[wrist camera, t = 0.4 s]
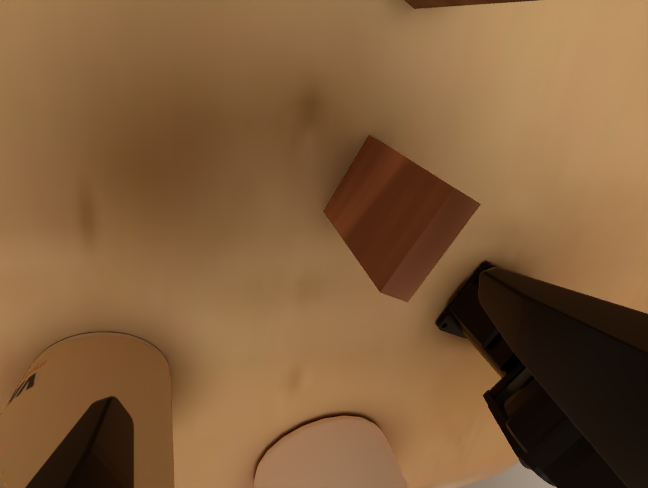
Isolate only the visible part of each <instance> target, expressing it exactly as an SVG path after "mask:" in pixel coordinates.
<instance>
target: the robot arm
mask: <svg viewBox="0 0 648 488" xmlns="http://www.w3.org/2000/svg"><path fill="white" fill-rule="evenodd" d="M436 325H437V327H438V328H439V329H440V330H442V331H445V332H448V333H451V334H454V335H457V336H460V337H463V338H467V339H468V340H469V341H470V342H471V343H472V344H473V346H474V347H475V348H476V349H477V350H478V351H479V352H480V354H481V355H482V356H483V357H484V358H485V359H486V360H487V362H488V363H489V364H490V365H491V366H492V367H493V368H494V370H495V371H496V372H497V373H498V374H499V375H500V376H501V378H502V379H501V380H500V381H499V382H498V383H497V384H496V385H495V386H494V387H493V388H492V389H491V390H487V391H486V392H485V393H484V394H483V397H484V399H485V400H486V402H487V404H488V407H489V409H490V411H491V413H492V414H493V416H494V418H495V420H496V421H497V423H498V425H499V426H500V428H501V430H502V432H503V433H504V435H505V437H506V439H507V440H508V442H509V444H510V445H511V447H512V449H513V451H514V452H515V454H516V455H517V457H518V458H519V461H520V462H521V464H522V465H523V466H524V467H525V468H527V469H531V470H533V471H534V472H535V473H536V474H537V475H538V476H539V477H540V478H542V479H543V480H544V481H546V482H547V483H549V484H551V485H552V486H556V487H557V488H648V314H647V313H643V312H640V311H637V310H634V309H630V308H627V307H624V306H621V305H618V304H614V303H611V302H608V301H605V300H601V299H598V298H595V297H592V296H589V295H585V294H582V293H579V292H576V291H573V290H569V289H566V288H563V287H560V286H556V285H553V284H550V283H547V282H544V281H540V280H537V279H534V278H531V277H527V276H524V275H521V274H518V273H515V272H511V271H508V270H505V269H503V268H501V267H499V266H497V265H495V264H493V263H491V262H485V263H483V264H482V265H481V266H480V268H479V269H478V270H477V272H476V273H475V274H474V275H473V277H472V278H471V279H470V280H469V282H468V283H467V284H466V285H465V287H464V288H463V289H462V291H461V292H460V293H459V294H458V296H457V297H456V298H455V299H454V301H453V302H452V303H451V304H450V306H449V307H448V308H447V309H446V311H445V312H444V313H443V315H442V316H441V317H440V318H439V320H438V321H437V323H436ZM25 488H134V423H133V419H132V417H131V415H130V414H129V413H128V411H127V410H126V409H125V407H124V406H123V405H122V403H121V402H120V401H119V400H118V398H117V397H115V396H109V397H106V398H103V399H100V400H97V401H95V402H93V403H92V404H91V405H90V406H89V408H88V409H87V410H86V411H85V413H84V414H83V415H82V417H81V418H80V419H79V420H78V422H77V423H76V424H75V425H74V427H73V428H72V429H71V430H70V432H69V433H68V434H67V435H66V437H65V438H64V439H63V440H62V442H61V443H60V444H59V445H58V447H57V448H56V449H55V450H54V452H53V453H52V454H51V455H50V457H49V458H48V459H47V461H46V462H45V463H44V464H43V466H42V467H41V468H40V469H39V471H38V472H37V473H36V474H35V476H34V477H33V478H32V479H31V481H30V482H29V483H28V484H27V486H26V487H25Z"/></svg>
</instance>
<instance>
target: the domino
mask: <svg viewBox="0 0 648 488" xmlns="http://www.w3.org/2000/svg"><path fill="white" fill-rule="evenodd" d="M479 206H480V204H479V203H478V202H476V201H475V200H473V199H471V198H470V197H468V196H467V195H465V194H463V193H462V192H460V191H459V190H457V189H455V188H454V187H452V186H451V185H449V184H447V183H446V182H444V181H443V180H441V179H440V178H438V177H436V176H435V175H433V174H432V173H430V172H428V171H427V170H425V169H424V168H422V167H420V166H419V165H417V164H416V163H414V162H412V161H411V160H409V159H408V158H406V157H404V156H403V155H401V154H400V153H398V152H396V151H395V150H393V149H392V148H390V147H388V146H387V145H385V144H384V143H382V142H380V141H379V140H377V139H375V138H374V137H372V136H371V135H369V136H368V138H367V140H366V141H365V143H364V145H363V146H362V148H361V150H360V151H359V153H358V155H357V156H356V158H355V160H354V161H353V163H352V165H351V166H350V168H349V170H348V171H347V173H346V175H345V176H344V178H343V180H342V182H341V183H340V185H339V187H338V188H337V190H336V192H335V193H334V195H333V197H332V198H331V200H330V202H329V203H328V205H327V207H326V208H325V210H324V213H325V214H326V216H327V217H328V219H329V220H330V221H331V223H332V224H333V226H334V227H335V229H336V230H337V231H338V233H339V234H340V236H341V237H342V239H343V240H344V241H345V243H346V244H347V246H348V247H349V249H350V250H351V251H352V253H353V254H354V256H355V257H356V259H357V260H358V261H359V263H360V264H361V266H362V267H363V269H364V270H365V271H366V273H367V274H368V276H369V277H370V279H371V280H372V281H373V283H374V284H375V286H376V287H377V289H378V290H379V291H380V293H383V294H386V295H389V296H392V297H394V298H397V299H400V300H403V301H406V302H408V301H409V300H410V299H411V297H412V296H413V295H414V293H415V292H416V291H417V289H418V288H419V287H420V285H421V284H422V282H423V281H424V280H425V278H426V277H427V276H428V274H429V273H430V272H431V270H432V269H433V268H434V266H435V265H436V264H437V262H438V261H439V260H440V258H441V257H442V256H443V254H444V253H445V252H446V250H447V249H448V248H449V246H450V245H451V243H452V242H453V241H454V239H455V238H456V237H457V235H458V234H459V233H460V231H461V230H462V229H463V227H464V226H465V225H466V223H467V222H468V221H469V219H470V218H471V217H472V215H473V214H474V213H475V211H476V210H477V209H478V207H479Z"/></svg>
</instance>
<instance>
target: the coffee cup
mask: <svg viewBox="0 0 648 488" xmlns="http://www.w3.org/2000/svg"><path fill="white" fill-rule="evenodd" d="M109 396H115V397H117V398H118V400H119V401H120V402H121V403H122V405H123V406H124V407H125V409H126V410H127V411H128V413H129V414H130V415H131V417H132V419H133V423H134V488H174V458H173V428H172V399H171V379H170V370H169V366H168V363H167V361H166V359H165V357H164V356H163V354H162V353H161V352H160V351H159V350H158V349H157V348H156V347H154V346H153V345H152V344H150V343H148V342H146V341H144V340H142V339H140V338H137V337H134V336H131V335H127V334H121V333H113V332H93V333H87V334H80V335H76V336H73V337H69V338H67V339H64V340H62V341H59V342H57V343H56V344H54V345H52V346H50V347H49V348H47V349H46V350H45V351H44V352H43V353H41V354H40V355H39V356H38V357H37V358H36V359H35V361H34V362H33V363H32V365H31V366H30V368H29V370H28V371H27V373H26V374H25V376H24V377H23V379H22V380H21V382H20V384H19V385H18V387H17V389H16V391H15V392H14V394H13V396H12V397H11V399H10V401H9V402H8V404H7V406H6V408H5V409H4V411H3V413H2V414H1V416H0V488H25V487H26V486H27V484H28V483H29V482H30V481H31V479H32V478H33V477H34V476H35V474H36V473H37V472H38V471H39V469H40V468H41V467H42V466H43V464H44V463H45V462H46V461H47V459H48V458H49V457H50V455H51V454H52V453H53V452H54V450H55V449H56V448H57V447H58V445H59V444H60V443H61V442H62V440H63V439H64V438H65V437H66V435H67V434H68V433H69V432H70V430H71V429H72V428H73V427H74V425H75V424H76V423H77V422H78V420H79V419H80V418H81V417H82V415H83V414H84V413H85V411H86V410H87V409H88V408H89V406H90V405H91V404H92V403H93V402H95V401H97V400H100V399H103V398H106V397H109Z"/></svg>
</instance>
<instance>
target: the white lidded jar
mask: <svg viewBox="0 0 648 488" xmlns="http://www.w3.org/2000/svg"><path fill="white" fill-rule="evenodd" d="M253 488H409V486H408V484H407V482H406V480H405V477H404V475H403V473H402V471H401V469H400V467H399V465H398V462H397V460H396V458H395V456H394V454H393V452H392V450H391V447H390V445H389V443H388V441H387V439H386V437H385V436H384V434H383V433H382V431H381V430H380V428H379V427H378V426H376V425H375V424H374V423H372V422H370V421H368V420H366V419H364V418H362V417H354V416H338V417H331V418H324V419H321V420H318V421H315V422H312V423H310V424H307V425H304V426H302V427H300V428H298V429H296V430H295V431H293V432H291V433H289V434H288V435H286V436H284V437H282V438H281V439H280V440H279V441H278V442H277V443H276V444H274V445H273V446H272V447H271V448H270V449H269V450H268V451H267V452H266V454H265V455H264V457H263V458H262V460H261V461H260V463H259V464H258V467H257V470H256V475H255V480H254V486H253Z"/></svg>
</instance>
